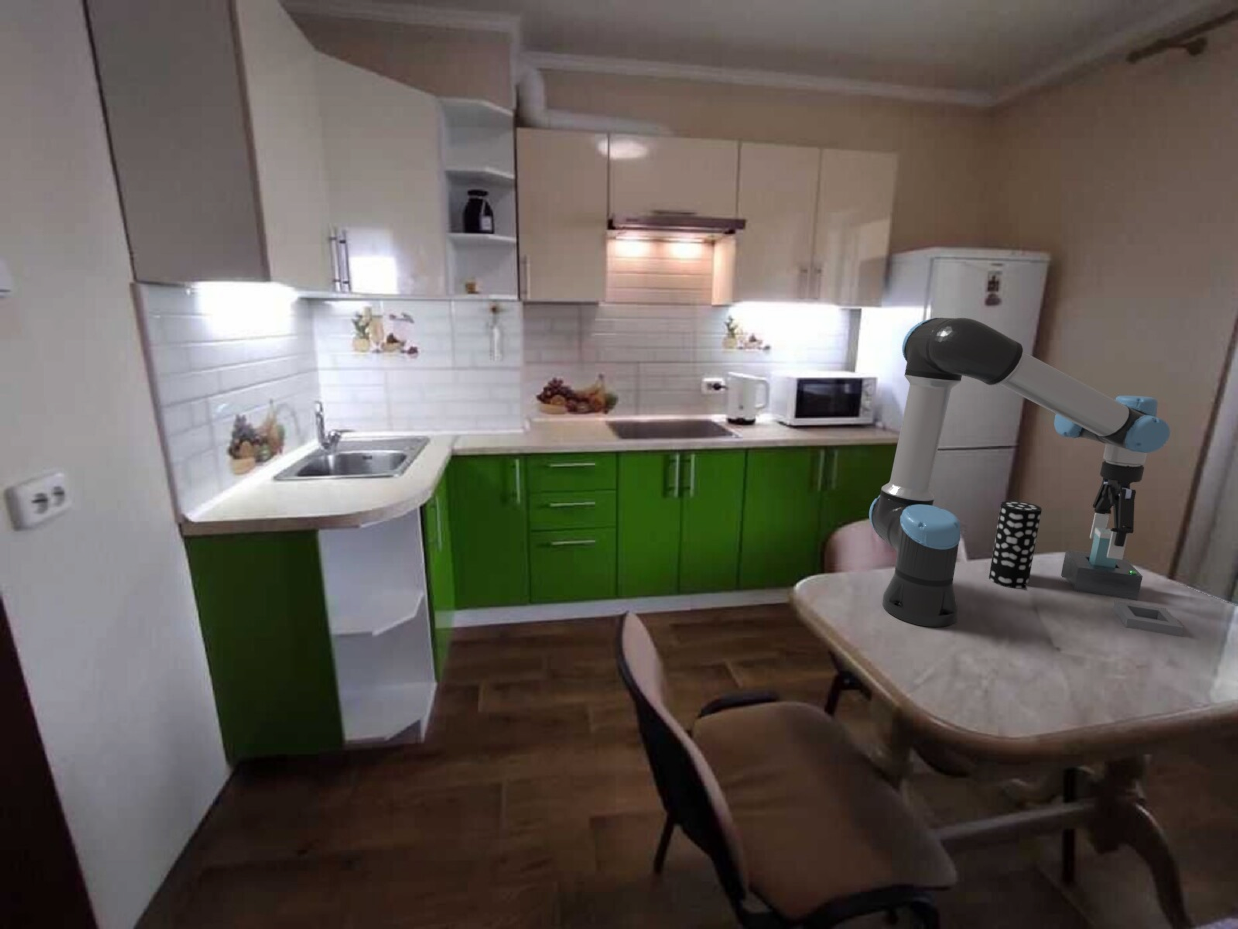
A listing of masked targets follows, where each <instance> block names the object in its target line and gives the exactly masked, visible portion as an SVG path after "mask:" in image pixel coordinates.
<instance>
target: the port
mask: <svg viewBox="0 0 1238 929" xmlns="http://www.w3.org/2000/svg"><path fill="white" fill-rule="evenodd" d="M1064 553H1065V554H1064V558H1063V563H1062V568H1061V573H1060V576H1061V578H1065V579H1066V581H1067V583H1068V584H1069V586H1070V588H1071V589H1072V590H1073V591H1074V592H1079V593H1087V594H1093V595H1099V596H1100V595H1101V596H1106V597H1113V598H1117V599H1118V598H1119V599H1124V600H1131V601H1138V599H1139V593H1140V589H1141V585H1142V581H1143V575H1142V574H1141V573H1140V572H1139V571H1138V570H1137V569H1136V568H1135V567H1134V566H1133V565H1132V564H1131V562H1129V561H1128V560H1127V558H1126V557H1123V559H1122V560H1121V559H1117V562H1116V566H1115V568H1111V567H1104V566H1097V565H1091V563H1090V562H1089V559H1090V555H1091V552H1085V551H1077V550H1076V551H1075V550H1067V549H1066V550H1065V552H1064Z"/></svg>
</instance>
